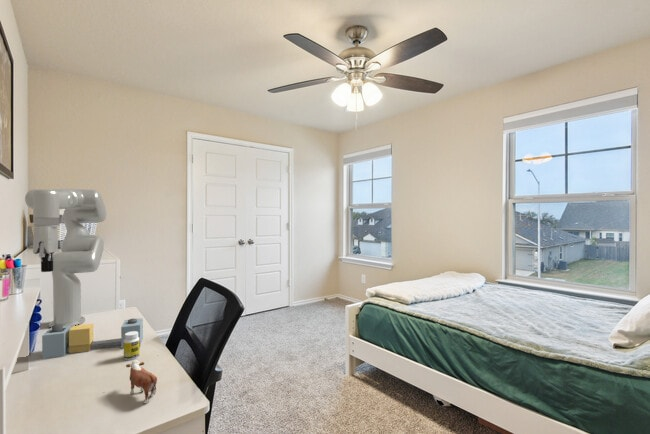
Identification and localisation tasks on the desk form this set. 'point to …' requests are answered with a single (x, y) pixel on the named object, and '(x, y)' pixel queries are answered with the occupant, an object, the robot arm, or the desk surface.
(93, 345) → the rail
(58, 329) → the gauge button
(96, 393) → the desk surface
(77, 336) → the block
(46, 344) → the frame
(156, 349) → the desk surface
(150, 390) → the bull figurine
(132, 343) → the supplement bottle
